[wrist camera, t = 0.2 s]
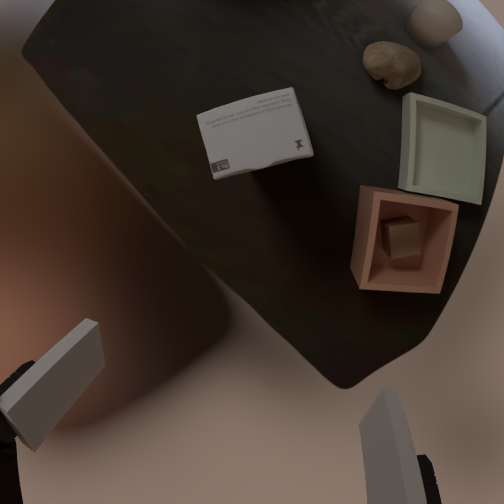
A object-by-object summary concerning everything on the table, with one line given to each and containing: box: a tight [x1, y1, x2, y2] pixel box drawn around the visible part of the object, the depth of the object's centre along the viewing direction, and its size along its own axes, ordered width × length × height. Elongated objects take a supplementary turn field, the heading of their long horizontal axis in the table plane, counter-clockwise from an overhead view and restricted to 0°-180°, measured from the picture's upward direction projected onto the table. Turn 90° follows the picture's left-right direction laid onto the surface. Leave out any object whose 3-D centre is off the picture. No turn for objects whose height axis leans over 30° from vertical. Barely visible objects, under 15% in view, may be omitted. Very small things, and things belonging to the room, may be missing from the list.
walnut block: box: [380, 215, 420, 259], centre depth 32 cm, size 4×4×4 cm
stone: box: [363, 41, 422, 90], centre depth 27 cm, size 7×6×8 cm
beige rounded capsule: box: [405, 0, 463, 49], centre depth 22 cm, size 6×6×7 cm
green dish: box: [398, 92, 486, 205], centre depth 29 cm, size 12×12×3 cm
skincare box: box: [197, 87, 314, 180], centre depth 27 cm, size 8×6×15 cm
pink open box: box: [350, 185, 459, 294], centre depth 32 cm, size 11×11×7 cm
